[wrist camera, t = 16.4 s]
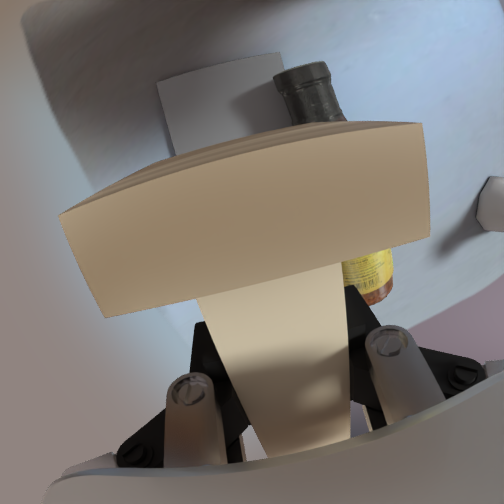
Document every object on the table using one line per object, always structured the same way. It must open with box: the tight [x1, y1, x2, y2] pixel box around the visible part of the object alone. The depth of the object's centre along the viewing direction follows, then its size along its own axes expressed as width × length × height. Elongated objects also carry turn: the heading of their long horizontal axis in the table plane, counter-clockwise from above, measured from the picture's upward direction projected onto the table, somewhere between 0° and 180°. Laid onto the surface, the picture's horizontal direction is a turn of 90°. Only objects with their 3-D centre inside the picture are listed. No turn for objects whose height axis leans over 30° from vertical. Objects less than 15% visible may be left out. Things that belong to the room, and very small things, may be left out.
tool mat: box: [156, 52, 293, 156], centre depth 25 cm, size 22×10×1 cm, turn 13°
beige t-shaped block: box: [58, 121, 430, 458], centre depth 10 cm, size 14×6×7 cm, turn 13°
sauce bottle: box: [273, 61, 393, 306], centre depth 22 cm, size 7×6×20 cm
